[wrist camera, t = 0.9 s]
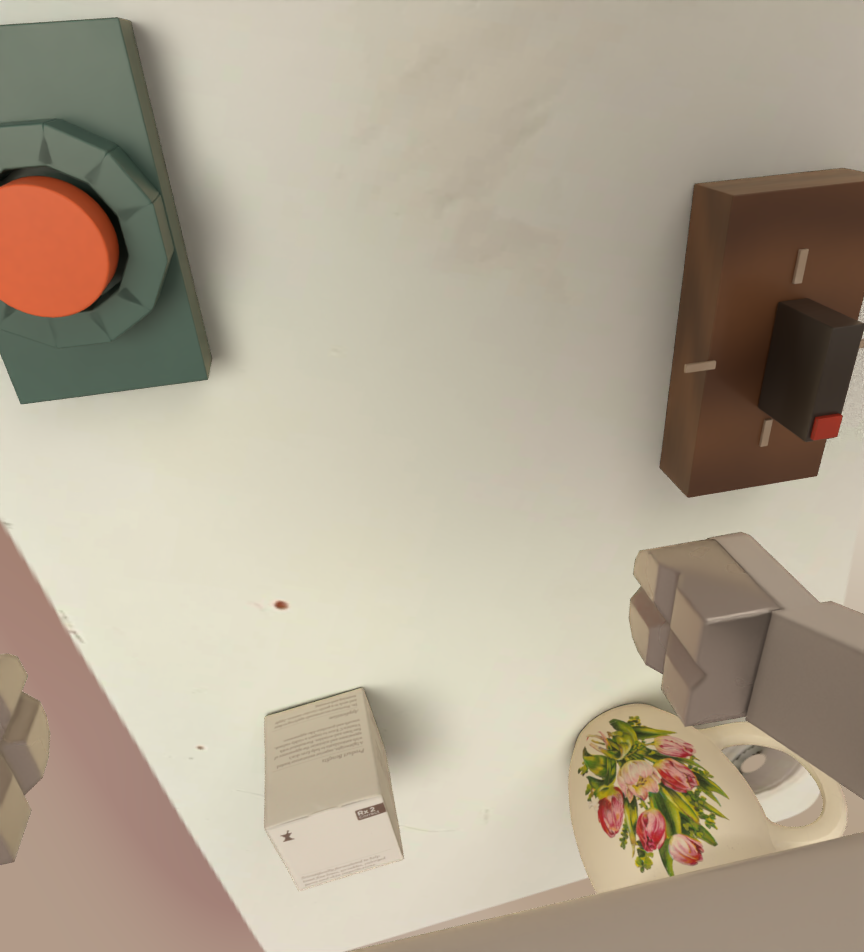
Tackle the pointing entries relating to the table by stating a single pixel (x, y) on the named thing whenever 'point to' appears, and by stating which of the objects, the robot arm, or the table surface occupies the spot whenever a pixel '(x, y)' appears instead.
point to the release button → (53, 247)
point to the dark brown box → (809, 368)
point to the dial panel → (754, 319)
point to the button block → (121, 197)
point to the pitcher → (675, 799)
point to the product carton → (329, 790)
